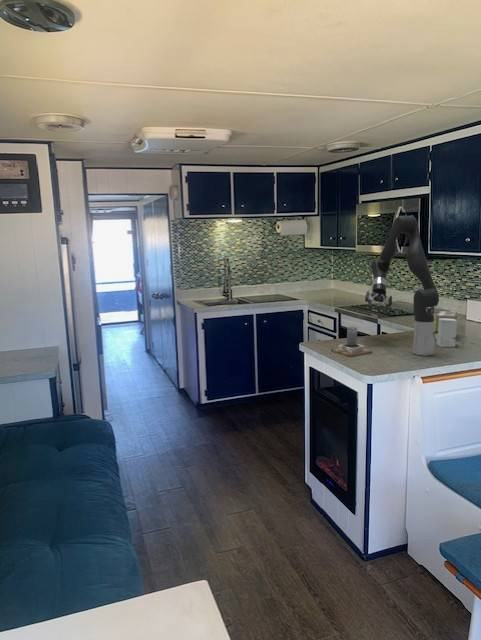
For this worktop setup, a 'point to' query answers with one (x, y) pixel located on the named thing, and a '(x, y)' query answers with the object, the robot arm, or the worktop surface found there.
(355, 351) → the mount board
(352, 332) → the dark grey cylinder
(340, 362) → the worktop surface
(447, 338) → the skincare box
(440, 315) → the tea box
